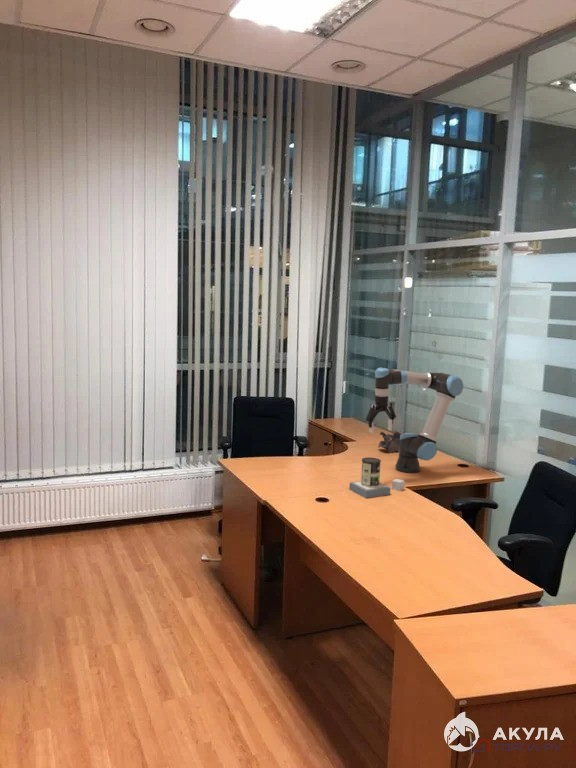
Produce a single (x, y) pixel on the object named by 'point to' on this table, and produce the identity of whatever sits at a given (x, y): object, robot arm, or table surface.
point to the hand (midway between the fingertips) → (380, 431)
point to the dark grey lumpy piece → (390, 442)
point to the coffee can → (370, 472)
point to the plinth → (369, 490)
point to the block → (398, 484)
